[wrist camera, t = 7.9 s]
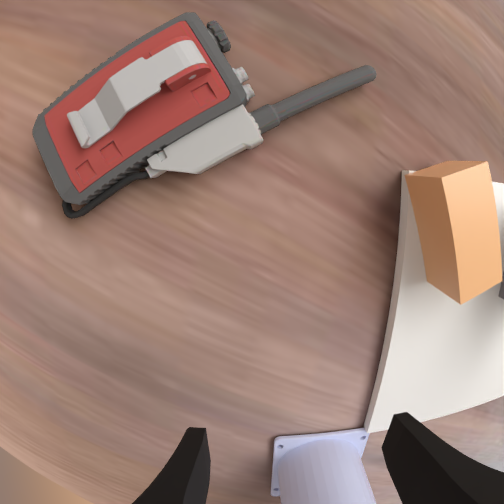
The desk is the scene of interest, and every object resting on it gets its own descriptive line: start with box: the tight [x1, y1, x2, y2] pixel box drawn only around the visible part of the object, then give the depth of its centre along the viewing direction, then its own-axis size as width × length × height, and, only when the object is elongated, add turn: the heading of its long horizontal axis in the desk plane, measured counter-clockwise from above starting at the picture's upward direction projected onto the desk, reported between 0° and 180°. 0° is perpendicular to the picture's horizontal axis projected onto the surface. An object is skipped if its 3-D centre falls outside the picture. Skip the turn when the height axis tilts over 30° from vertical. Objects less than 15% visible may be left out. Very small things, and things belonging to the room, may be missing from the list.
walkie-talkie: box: [33, 13, 376, 218], centre depth 15 cm, size 9×4×20 cm
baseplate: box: [364, 170, 504, 433], centre depth 20 cm, size 20×17×1 cm
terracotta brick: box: [404, 161, 502, 305], centre depth 15 cm, size 7×4×4 cm, turn 20°
